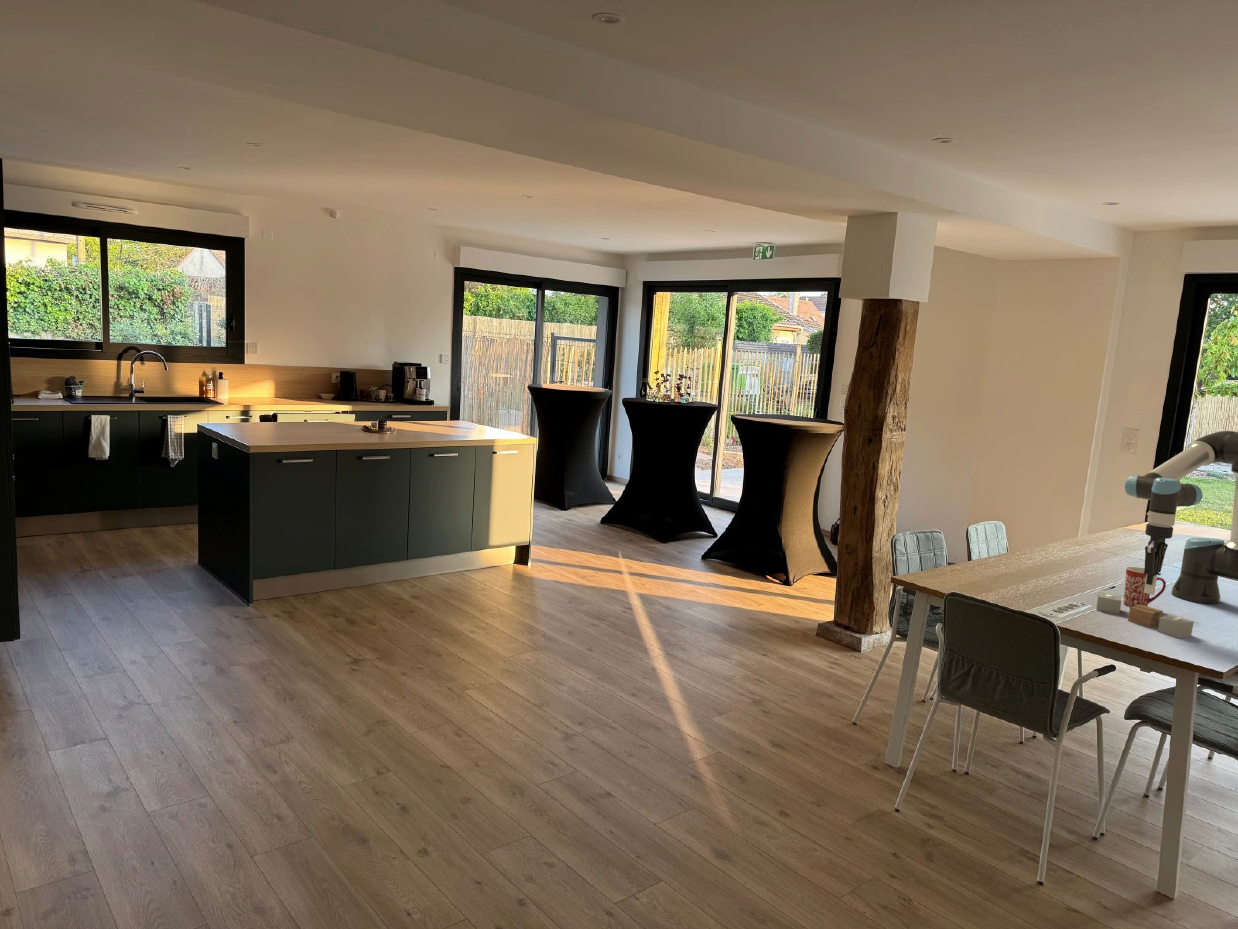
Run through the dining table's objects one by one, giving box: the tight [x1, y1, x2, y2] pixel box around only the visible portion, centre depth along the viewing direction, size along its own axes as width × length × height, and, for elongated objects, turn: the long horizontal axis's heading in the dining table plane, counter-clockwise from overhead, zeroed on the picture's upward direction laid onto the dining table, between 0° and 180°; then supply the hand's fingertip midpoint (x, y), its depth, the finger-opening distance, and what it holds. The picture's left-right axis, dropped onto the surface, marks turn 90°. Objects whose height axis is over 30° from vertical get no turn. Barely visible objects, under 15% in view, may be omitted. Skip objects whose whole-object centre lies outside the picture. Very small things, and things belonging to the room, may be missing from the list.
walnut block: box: [1127, 605, 1164, 628], centre depth 278 cm, size 7×7×5 cm
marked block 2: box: [1157, 614, 1195, 639], centre depth 268 cm, size 7×7×5 cm
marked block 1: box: [1095, 591, 1122, 615], centre depth 290 cm, size 7×7×5 cm
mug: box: [1123, 566, 1167, 608], centre depth 295 cm, size 13×9×14 cm
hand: (1148, 593), depth 277 cm, fingers closed
